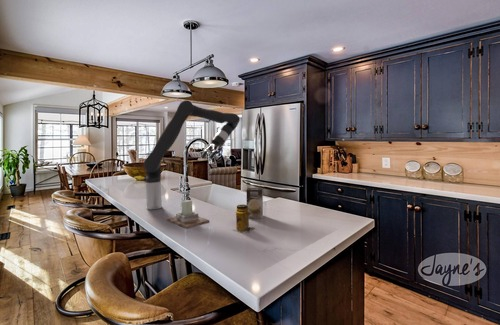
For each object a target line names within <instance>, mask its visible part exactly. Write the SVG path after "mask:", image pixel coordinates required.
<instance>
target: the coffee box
mask: <svg viewBox="0 0 500 325" xmlns="http://www.w3.org/2000/svg"><path fill="white" fill-rule="evenodd" d="M263 190H264V189H263V187H247V188H246V205H247V206H248V212H249V219H263V216H264V215H263V214H264V212H263V211H264V204H263V203H264V199H263V198H264V194H263V193H264V191H263Z"/></svg>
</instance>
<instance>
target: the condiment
mask: <svg viewBox="0 0 500 325" xmlns="http://www.w3.org/2000/svg"><path fill="white" fill-rule="evenodd" d="M235 220H236V222H235V223H236V225H235V226H236V228H234V229H233V231H236V232H238V233H243V234H245V233H247V232H249V231H253V229H255V227H252V226H250V225H249V224H250V223H249V222H250V221H249V220H250V218H249V212H248V206H247V204H238V205H236V212H235Z"/></svg>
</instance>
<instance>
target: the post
mask: <svg viewBox="0 0 500 325" xmlns="http://www.w3.org/2000/svg"><path fill="white" fill-rule="evenodd" d="M192 212H193V201H192V200H190V199H185V200H181V213H182V215H183V216H188V215H192Z"/></svg>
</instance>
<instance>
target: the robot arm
mask: <svg viewBox="0 0 500 325" xmlns="http://www.w3.org/2000/svg"><path fill="white" fill-rule="evenodd" d="M189 117H196V118H201V119H206V120H209V121H212V122H215V123H218V124H223V123H225V122H226V123H225V124H224V125H223V126H222V127H221V128H220V130H219V131H218V132H217V133H216V134H215V135H214V137H213V138H212V139H211V144H206V145H205V147H204V149H202V151H203V153H201V155H200V158H202V159H205V157H206V156H207V155H208V154H209V153H211V154H209V156H208V157H209V158H210V160H212V159H213V158H214V157H215V156H216V155H219V154H220V153H221V151H222V149H223V146H224V145H225V143H226V142H227V140H228V138H229V137H230V136H231V135H232V132H233V131H235V129H236V128H237V127H238V125H239V123H240V116H239V115H238V114H236V113H232V112H222V111H218V110H214V109H208V108H203V107H199V106H196V105H195V104H193V102H192V101H190V100H189V99H188V100H181V102H180V103H179V104H178V106H177V109H176V111H175V113H174V115H173V117H172V118H171V119H170V121H169V122H168V123H167V125H166V126H165V128H164V130H163V131H162V133H161V135H160V136H159V138H158V139H157V142H156V144H155V145H154V147H153V149H152V151H151V152H150V153H149V155H148V156H147V157H146V159H145V160H144V162H143V168H144V170H145V196H146V197H145V198H146V209H147V210H158V209H161V208H162V207H163V204H162V201H163V200H162V199H163V198H162V183H161V182H162V180H161V178H162V168H161V166H162V164H161V161H162V160H163V158H164V156H165V155H166V153H168V151H169V150H170V149H171V148H172V146H173V145H174V143H175V141H176V140H177V138H178V137H179V135H180V133H181V130H182V127H183V125H184V123H185V122H186V120H187V119H188V118H189Z"/></svg>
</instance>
